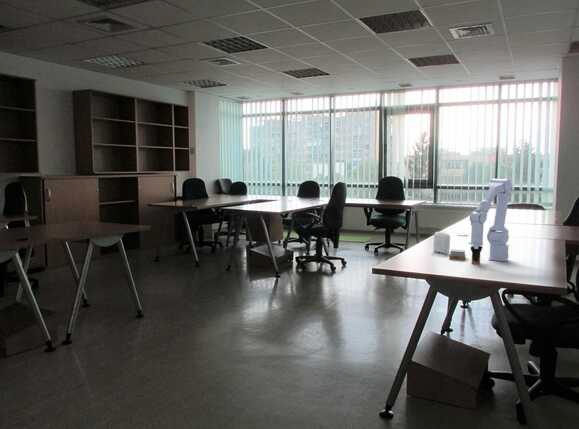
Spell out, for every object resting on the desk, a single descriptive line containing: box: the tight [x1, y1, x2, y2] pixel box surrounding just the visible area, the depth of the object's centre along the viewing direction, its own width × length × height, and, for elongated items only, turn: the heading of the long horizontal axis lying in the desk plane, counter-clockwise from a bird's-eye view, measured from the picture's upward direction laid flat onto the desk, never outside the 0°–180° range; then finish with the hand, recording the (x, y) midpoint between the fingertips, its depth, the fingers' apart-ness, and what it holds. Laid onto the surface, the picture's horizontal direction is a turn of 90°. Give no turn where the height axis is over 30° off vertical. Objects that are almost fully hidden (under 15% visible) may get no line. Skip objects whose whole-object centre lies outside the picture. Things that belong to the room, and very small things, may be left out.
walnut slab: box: [448, 253, 467, 261], centre depth 264 cm, size 8×8×2 cm
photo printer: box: [433, 231, 451, 255], centre depth 282 cm, size 10×4×12 cm, turn 28°
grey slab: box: [449, 248, 466, 257], centre depth 264 cm, size 7×7×2 cm
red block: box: [471, 253, 481, 265], centre depth 251 cm, size 4×4×5 cm
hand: (475, 260), depth 251 cm, fingers closed on red block, 4 cm apart
